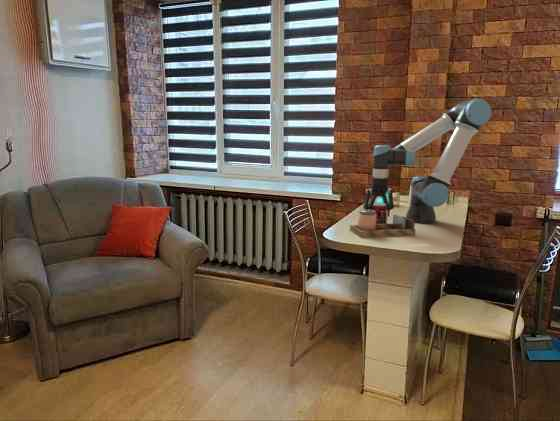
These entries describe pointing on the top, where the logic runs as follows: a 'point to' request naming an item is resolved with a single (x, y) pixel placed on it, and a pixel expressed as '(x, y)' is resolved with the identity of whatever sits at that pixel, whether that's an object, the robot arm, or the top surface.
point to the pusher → (399, 222)
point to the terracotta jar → (367, 220)
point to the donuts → (382, 199)
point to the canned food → (380, 212)
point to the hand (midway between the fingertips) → (377, 223)
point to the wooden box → (385, 230)
